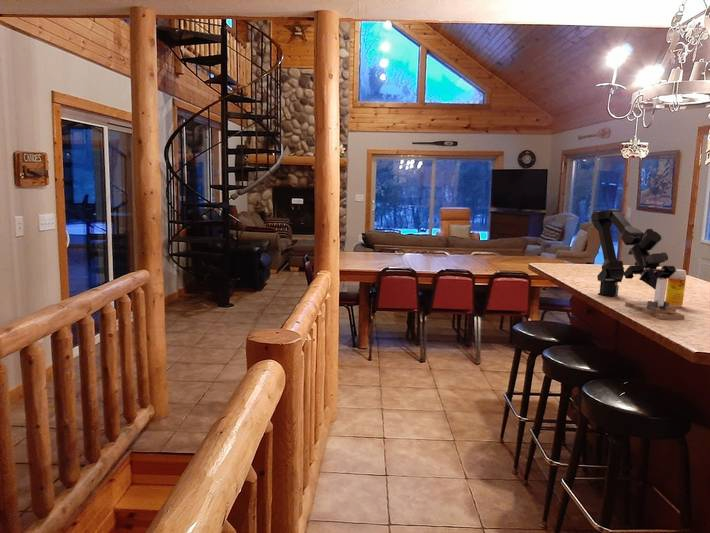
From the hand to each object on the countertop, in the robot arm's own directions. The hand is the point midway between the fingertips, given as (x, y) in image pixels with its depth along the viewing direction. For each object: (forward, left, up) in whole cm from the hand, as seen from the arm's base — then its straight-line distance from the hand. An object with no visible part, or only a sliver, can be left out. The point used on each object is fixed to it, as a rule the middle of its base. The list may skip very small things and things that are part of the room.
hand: (658, 290), depth 203 cm
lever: (+1, -1, -6) cm, 6 cm away
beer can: (+1, +20, -9) cm, 22 cm away
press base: (-1, +1, -9) cm, 9 cm away
